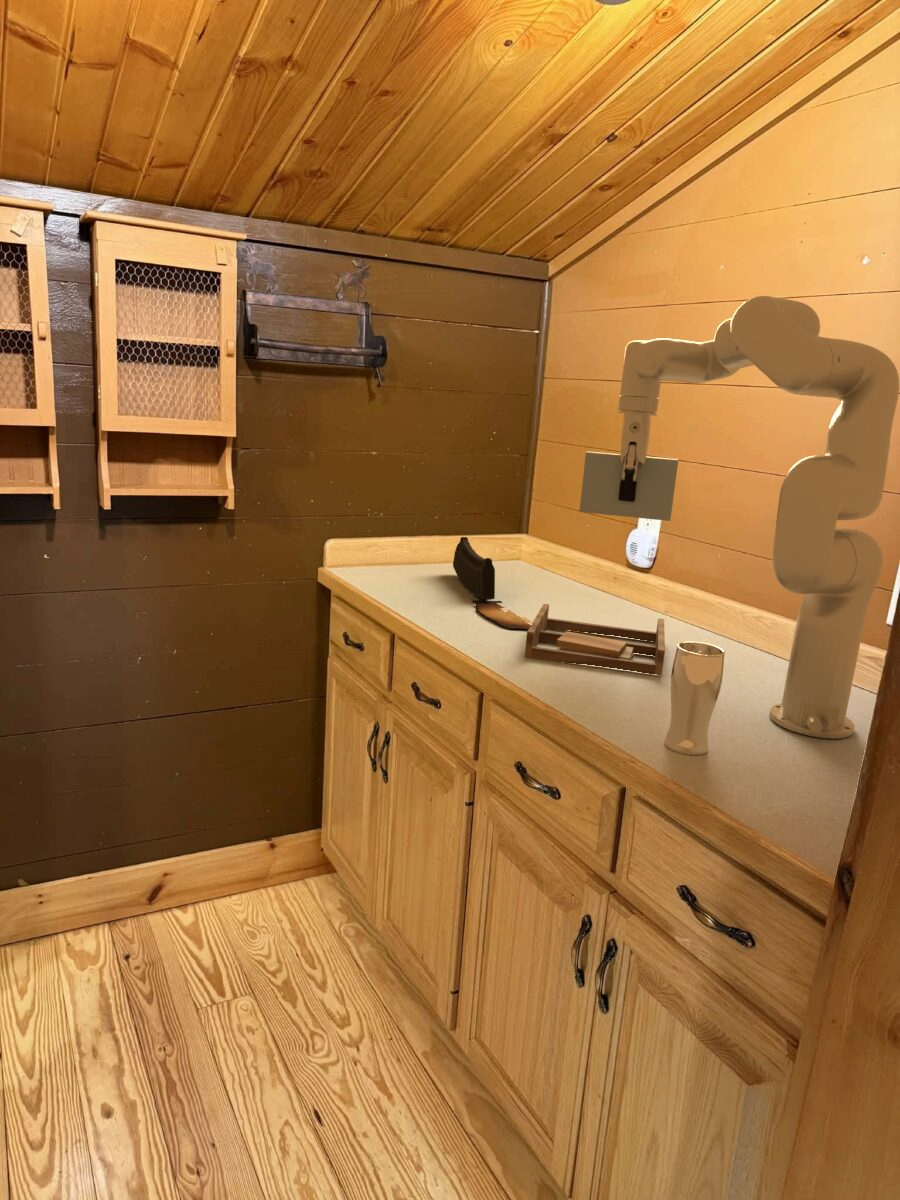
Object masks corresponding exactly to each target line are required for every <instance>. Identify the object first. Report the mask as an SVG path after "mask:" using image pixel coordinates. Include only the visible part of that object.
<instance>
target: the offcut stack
mask: <svg viewBox="0 0 900 1200" xmlns="http://www.w3.org/2000/svg"><path fill="white" fill-rule="evenodd" d="M562 634H563V635H562V636H561V637H560V638H559V639H557V644H556V645H555V646H557V648H556V650H563V651H570V652H577V653H584V654H591V655H599V656H606V657H613V658H620V659H627V660H631V659H632V657H633V658H634V654H633V647H627V646H626V645H627V641H621V640H617V639H610V638H606V637H601V636H596V635H591V634H585V633H578V632H570V631H564V633H562ZM632 660H633V659H632Z"/></svg>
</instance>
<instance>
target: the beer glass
mask: <svg viewBox="0 0 900 1200" xmlns="http://www.w3.org/2000/svg"><path fill="white" fill-rule="evenodd" d="M725 654H726V651H725V650H724V649H722V648H721V647H719V646H716V645H714V644H710V643H707V642H706V643H705V642H698V641H681V642H679V643H677V645H676V650H675V653H674V659H673V661H672V662H673V664H672V668H671V676H670V712H671V713H670V722H669V727H668V730H667V733H666V736H665V739H664V745H665V747H667V748H668V749H670V750H671V751H673V752H675V753H679V754H681V755H687V756H702V755H705V754H706V753H707V752H708V749H709V740H708V738H709V736H708V734H709V732H708V731H709V727H710V726H709V725H710V721H711V719H712V715H713V712H714V710H715V708H716V705H717V703H718V698H719V696H720V692H721V690H722V683H723V677H724V667H725Z"/></svg>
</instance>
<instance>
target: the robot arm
mask: <svg viewBox="0 0 900 1200" xmlns="http://www.w3.org/2000/svg"><path fill="white" fill-rule="evenodd" d="M820 332H821V321H820V318H819V316H818V313H817V312H816V311H815V310H814V309H813V308H812V306H809V305H808V304H806V303H804V302H801V301H798V300H793V299H787V298H783V297H781V298H780V297H776V296H769V295H760V296H754V297H752V298H750V299H748V300H746V301H744V302H743V303H742V304H741V305H740V306H738V308H737V309H736V311H735V312H734V314H733V315H732V317H731V318H728V319H725V320H724V321H723V322H721V323H720V324H719V326H718V327H717V329H716V331H715V333H714V338H713V340H709V341H703V342H697V341H691V340H683V339H672V338H664V337H663V338H662V337H661V338H655V339H650V340H632V341H629V342H628V343H626V346H625V351H624V356H623V357H624V359H623V365H622V366H623V367H622V374H621V383H620V384H621V385H620V391H619V392H620V393H619V401H618V409H617V410H618V411H617V413H618V414H623V418H622V419H623V420H622V429H621V438H620V453H619V454H620V463H621V464H623V461H624V465H623V473H622V480H620V489H619V497H618V499H619V500H620V501H629V502H634V500H635V493H636V485H637V482H636V475H637V468H638V461H639V463H642V466H644V465H645V464H646V457H648V449H649V443H650V441H649V440H650V432H651V424H652V423H651V422H652V421H651V418H652V416H657V414H658V408H659V401H660V400H659V399H660V392H661V384H662V382H674V383H675V382H676V383H684V384H685V383H686V384H703V383H708V382H712V381H716V380H721V379H725V378H729V377H731V376H732V375H735V374H736V373H737V372H738V371H740V369H743V368H748V367H752V366H755V367H756V368H758V370H760V371H761V372H762V374H764V375H765V376H766V377H767V378H768V379H769V380H770V381H771V382H772V383H774V384H775V385H776V386H777V387H778V388H780V389H781V390H783V391H785V392H787V393H789V394H792V395H798V396H809V397H816V398H817V397H820V398H823V397H824V398H830V399H831V398H833V399H838V400H839V401H841V403H840V405H839V406H838V407H837V409H836V411H835V412H834V414H833V416H832V418H831V421H830V423H829V427H828V429H827V441H826V448H825V453H824V455H823V454H815V455H812V456H806V457H805V458H802V459H800V460H798V461H797V462H796V463H795V464H794V465H793V466H792V467H791V468H790V469H789V470H788V472H787V474H786V475H785V477H784V479H783V482H782V484H781V486H780V491H779V497H778V504H777V505H778V506H777V513H776V520H775V529H774V538H773V539H774V540H773V546H772V547H773V548H772V568H773V572H774V575H775V579H776V580H777V581H778V583H779V584H780V585H781V586H782V588H784V589H785V590H787V591H789V592H792V593H793V594H798V595H799V594H800V595H804V597H803V600H802V601H801V604H800V607H799V610H798V613H797V618H796V624H795V629H794V633H793V637H792V638H793V639H792V644H791V649H790V650H791V651H790V656H789V661H788V667H787V673H786V678H785V683H784V690H783V695H782V699H781V703H777V704H774V705H772V706H771V707H770V709H769V717H770V719H771V720H772V722H773V723H775V724H777V725H778V726H779V727H782V728H784V729H786V730H789V731H791V732H795V733H797V734H801V735H805V736H809V737H813V738H821V739H832V740H835V739H845V738H849V737H851V736H852V735H853V734H854V732H855V728H856V726H855V724H854V722H852V720H851V719H849V718H848V717H846V716H847V711H848V705H849V700H850V696H851V693H852V692H851V691H852V686H853V682H854V676H855V672H856V671H855V670H856V666H857V660H858V656H859V652H860V647H861V641H862V636H863V632H864V628H865V622H866V618H867V614H868V611H869V606H870V603H871V600H872V598H873V596H874V594H875V591H876V588H877V586H878V583H879V581H880V578H881V575H882V571H883V565H884V557H883V552H882V548H881V547H880V545H879V543H878V542H877V541H876V539H875V538H873V536H871V535H870V534H868V533H867V532H864V531H862V530H858V529H853V528H837V522H838V521H855V520H860V519H865V518H866V517H870V516H871V515H873V514H874V513H875V512H876V511H877V509H878V508H879V506H880V505H881V503H882V498H883V494H884V489H885V484H886V483H885V482H886V474H887V468H888V460H889V453H890V445H891V436H892V431H893V430H892V429H893V423H894V418H895V413H896V411H897V410H896V409H897V405H898V400H899V394H900V377H899V372H898V370H897V368H896V366H895V363H894V362H893V360H892V359H891V357H889V356H888V355H887V354H885V352H883V351H881V350H879V349H878V348H876V347H873V346H871V345H868V344H866V343H862V342H858V341H853V340H847V339H840V338H831V337H825V336H824V337H823V336H819V335H820ZM624 456H625V457H624ZM636 458H637V460H636ZM623 459H624V460H623ZM626 461H627V465H626ZM635 462H636V465H634V463H635ZM634 468H635V469H634ZM633 476H634V477H633ZM624 480H625V481H624Z"/></svg>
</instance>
